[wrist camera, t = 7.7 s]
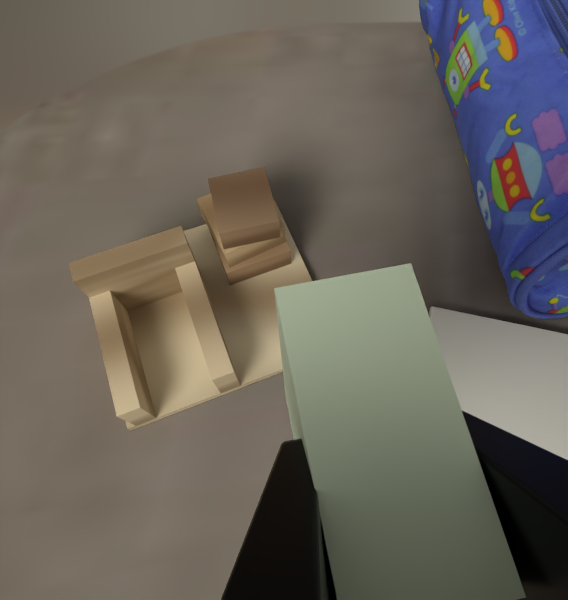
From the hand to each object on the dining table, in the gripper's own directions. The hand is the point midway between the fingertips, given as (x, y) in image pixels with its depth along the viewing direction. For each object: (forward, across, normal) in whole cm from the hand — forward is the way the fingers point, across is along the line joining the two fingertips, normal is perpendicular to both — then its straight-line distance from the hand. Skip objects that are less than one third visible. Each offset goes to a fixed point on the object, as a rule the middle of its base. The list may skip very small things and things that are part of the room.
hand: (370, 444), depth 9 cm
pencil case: (+21, -15, -1) cm, 25 cm away
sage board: (+5, 0, +5) cm, 7 cm away
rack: (+16, +4, +3) cm, 17 cm away
